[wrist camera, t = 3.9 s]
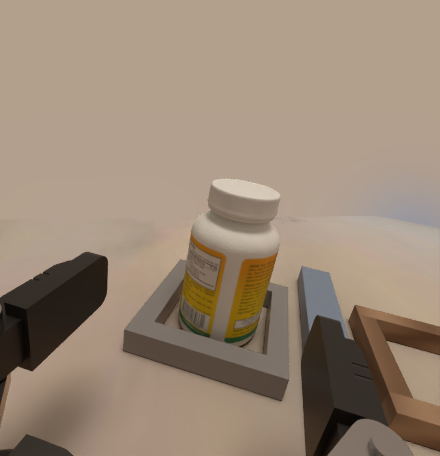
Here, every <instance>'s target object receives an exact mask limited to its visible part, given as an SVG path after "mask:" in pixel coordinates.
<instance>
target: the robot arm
mask: <svg viewBox="0 0 440 456" xmlns="http://www.w3.org/2000/svg"><path fill="white" fill-rule="evenodd" d="M107 277H108V260H107V258H106V257H105V256H101V255H98V254H94V253H90V252H84V253H83V254H81V255H79V256H78V257H76V258H75V259H73V260H71V261H70V260H69V261H66V262H63V263H60V264H56V265H54V266H52V267H51V268H49V269H47V270H46V271H44V272H43V274H42V273H41V274H39V275H37V276H35V277H34V278H33V280H32V279H30V280H29V281H27V282H25V283H24V284H22V285H20V286H19V287H17V288H15V289H14V290H12V291H10V292H9V293H7V294H5V295H3V296H2V297H0V426H1V422H2V417H3V413H4V408H5V404H6V399H7V395H8V390H9V386H10V382H11V374H10V373H11V372H12V371H13V370H14V369H15V368H16V367H21V368H24V369H27V370H30V371H33V370H34V369H35V368H36V367H37V366H39V365H40V364H41V363H42V362H43V361H44V360H45V359H46V358H47V357H48V356H49V355H50V354H51V353H52V352H53V351H54V350H55V349H56V348H57V347H58V346H59V345H60V344H61V343H63V342H64V341H65V340H66V339H67V338H68V337H69V336H70V335H71V334H72V333H73V332H74V331H75V330H76V329H77V328H78V327H79V326H80V325H81V324H82V323H83V322H84V321H85V320H87V319H88V318H89V317H90V316H91V315H92V314H93V313H94V312H95V311H96V310H97V309H98V308H99V307H100V306H101V305H102V303H103V302H104V300H105V297H106V294H107ZM368 368H369V367H368V364H367V361H366V358H365V355H364V353H363V352H362V350H361V349H360V348H359V347H358V345H357V344H356V343H355V341H354V340H351V339H347V338H345V337H344V333H343V329H342V326H341V322H340V321H338V320H334V319H331V318H327V317H323V316H320V315H317V316H316V317H315V319H314V321H313V324H312V327H311V330H310V333H309V335H308V338H307V341H306V344H305V347H304V350H303V354H302V360H301V376H302V393H303V411H304V428H305V446H306V456H414V455H413V453H412V451H411V450H410V448H409V447H408V445H407V444H406V443H405V442H404V441H403V440H402V438H401V437H400V436H399V435H397V434H396V433H395V432H394V431H393V430H391V429H390V428H389V426H388V423H387V420H386V417H385V414H384V411H383V408H382V405H381V402H380V399H379V396H378V393H377V390H376V387H375V385H374V382H372V376H371V373H370V370H368ZM0 456H73V455H72V454H71V453H70V452H69V451H67V450H66V449H64V448H62V447H59V446H56V445H54V444H51V443H49V442H46V441H43V440H41V439H38V438H36V437H33V436H31V435H28V434H26V435H25V437H24V438H23V439H22V440H21V441H20V443H19V444H18V445H17V446H16V447H15V448H14V449H6V450H0Z"/></svg>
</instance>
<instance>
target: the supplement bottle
mask: <svg viewBox="0 0 440 456" xmlns="http://www.w3.org/2000/svg"><path fill="white" fill-rule="evenodd" d="M279 201H280V194H279V193H278V192H276V191H275V190H273V189H271V188H269V187H267V186H264V185H260V184H257V183H253V182H249V181H243V180H235V179H217V180H214V181H213V182H212V183H211V188H210V192H209V198H208V206H209V208H210V209H211V210H210V211H207V212H205V213H203V214H201V215H200V216H199V217H197V219H196V220H195V221H194V223H193V226H192V231H191V237H190V243H189V250H188V256H187V263H186V270H185V275H184V282H183V289H182V296H181V302H180V309H179V321H180V324H181V327H182V329H183V330H184V331H187V332H190V333H194V334H197V335H201V336H204V337H207V338H211V339H214V340H217V341H221V342H224V343H227V344H231V345H234V346H238V347H239V346H241V345H243V344H245V343H247V342H248V341H249V340H250V339H251V338H252V337H253V335H254V334H255V331H256V328H257V325H258V321H259V317H260V314H261V310H262V307H263V303H264V299H265V296H266V292H267V289H268V285H269V282H270V278H271V275H272V271H273V268H274V264H275V261H276V257H277V254H278V250H279V246H280V238H279V235H278V232H277V231H276V229H275V228H274V227H273V225H271V224H270V223H269V222H270V221H272V220H273V219H274V217H275V216H276V215H277V210H278V206H279Z"/></svg>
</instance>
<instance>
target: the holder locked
mask: <svg viewBox="0 0 440 456" xmlns="http://www.w3.org/2000/svg"><path fill="white" fill-rule="evenodd" d="M349 323H350V326H351V329H352V333H353V336H354V339H355V342H356V344H357V345H358V347H359V348H360V349H361V350H362V352H363V353H364V355H365V358H366V361H367V364H368V367H369V368H368V370H370V373H371V376H372V382H374V385H375V387H376V390H377V393H378V396H379V399H380V402H381V405H382V408H383V411H384V414H385V417H386V420H387V423H388V426H389V428H390V429H391V430H393V431H394V432H395V433H396V434H397V435H399V436H400V437H401V438H402V439H404V440H407V441H410V442H413V443H416V444H419V445H423V446H426V447H429V448H432V449H435V450H438V451H440V406H436V405H433V404H430V403H426V402H423V401H420V400H416V399H413V397H412V395H411V393H410V390H409V388H408V386H407V384H406V382H405V380H404V378H403V376H402V373H401V371H400V369H399V367H398V365H397V363H396V361H395V358H394V356H393V354H392V352H391V350H390V348H389V346H388V344H387V341H386V340H388V341H392V342H396V343H399V344H403V345H407V346H410V347H414V348H418V349H421V350H425V351H429V352H432V353H436V354H440V327H438V326H435V325H431V324H427V323H423V322H419V321H415V320H412V319H408V318H404V317H400V316H396V315H392V314H389V313H385V312H381V311H377V310H373V309H369V308H365V307H362V306H358V305H355V306H354V309H353V311H352V313H351V316H350V318H349Z"/></svg>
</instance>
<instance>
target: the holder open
mask: <svg viewBox="0 0 440 456" xmlns="http://www.w3.org/2000/svg"><path fill="white" fill-rule="evenodd" d="M186 263H187V261H185V260H181V259H180V261H179V262H178V263H177V264H176V266H175V267H174V268H173V269H172V271H171V272H170V273H169V274H168V276H167V277H166V278H165V279H164V281H163V282H162V283H161V284H160V286H159V287H158V288H157V289H156V291H155V292H154V293H153V294H152V296H151V297H150V298H149V299H148V301H147V302H146V303H145V304H144V306H143V307H142V308H141V309H140V310H139V312H138V313H137V314H136V315H135V317H134V318H133V319H132V320H131V322H130V323H129V324H128V325H127V327H126V328H125V329H124V344H123V351H126V352H130V353H133V354H136V355H139V356H142V357H145V358H148V359H152V360H155V361H158V362H161V363H164V364H167V365H171V366H174V367H177V368H180V369H183V370H186V371H189V372H193V373H196V374H199V375H202V376H205V377H208V378H211V379H215V380H218V381H221V382H224V383H227V384H230V385H234V386H237V387H240V388H243V389H246V390H249V391H252V392H256V393H259V394H262V395H265V396H268V397H271V398H275V399H278V400H281V401H282V399H283V396H284V393H285V390H286V387H287V384H288V381H289V333H288V287H285V286H281V285H277V284H273V283H269V285H268V289H267V292H266V296H265V299H264V303H263V306H264V307H267V308H268V311H267V320H266V330H265V340H264V350H263V354H261V353H258V352H254V351H251V350H248V349H244V348H241V347H238V346H234V345H231V344H227V343H224V342H221V341H217V340H214V339H211V338H207V337H204V336H201V335H197V334H194V333H190V332H187V331H184V330H180V329H177V328H174V327H170V326H167V325H163V324H164V322H165V320H166V319H167V317H168V316H169V314H170V312H171V311H172V309H173V308H174V306H175V304H176V303H177V301H178V300H179V298H180V296H181V295H182V289H183V282H184V275H185V270H186Z"/></svg>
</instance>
